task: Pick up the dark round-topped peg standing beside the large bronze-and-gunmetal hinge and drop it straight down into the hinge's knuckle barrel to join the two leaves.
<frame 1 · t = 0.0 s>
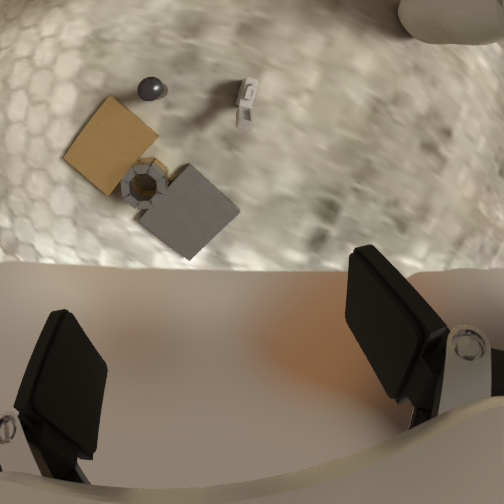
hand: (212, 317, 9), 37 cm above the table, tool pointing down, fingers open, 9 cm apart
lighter: (241, 102, 39), on the table
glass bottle: (409, 21, 33), on the table
dark round-topped peg: (159, 90, 36), on the table
hinge: (148, 178, 42), on the table
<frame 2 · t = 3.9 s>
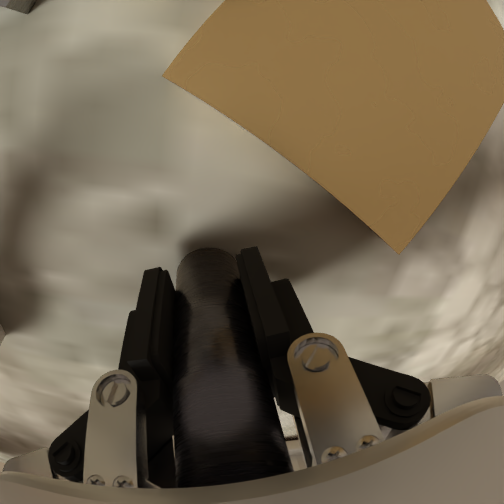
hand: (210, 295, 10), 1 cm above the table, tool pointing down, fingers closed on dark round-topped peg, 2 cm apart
dark round-topped peg: (208, 275, 11), on the table, touching gripper
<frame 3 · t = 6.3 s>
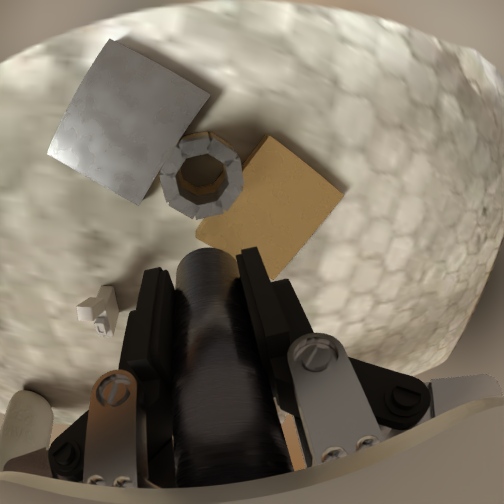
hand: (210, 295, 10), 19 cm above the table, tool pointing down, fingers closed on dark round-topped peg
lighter: (107, 289, 31), on the table
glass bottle: (35, 395, 40), on the table
dark round-topped peg: (208, 275, 11), point 18 cm above the table, touching gripper
hinge: (201, 166, 26), on the table
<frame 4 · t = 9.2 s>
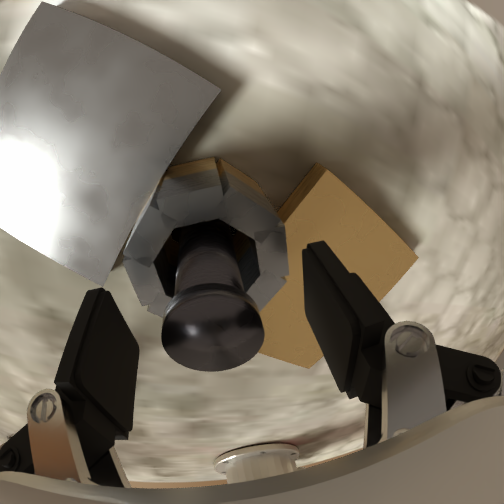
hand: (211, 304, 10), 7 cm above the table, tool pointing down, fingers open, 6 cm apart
dark round-topped peg: (204, 218, 16), resting in hinge
hinge: (204, 218, 16), on the table
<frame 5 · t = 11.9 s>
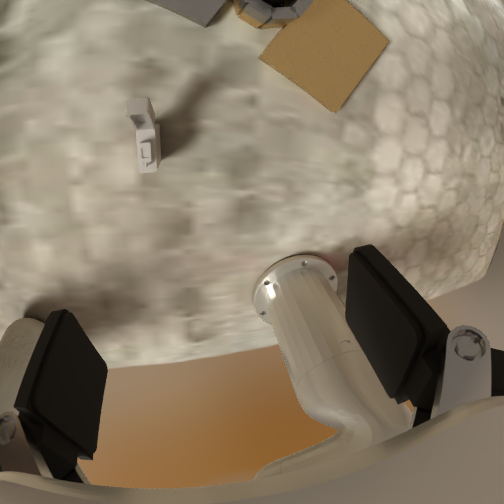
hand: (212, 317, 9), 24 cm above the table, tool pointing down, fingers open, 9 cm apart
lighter: (152, 129, 27), on the table
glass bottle: (38, 327, 37), on the table
dark round-topped peg: (265, 2, 21), resting in hinge
hinge: (264, 2, 21), on the table
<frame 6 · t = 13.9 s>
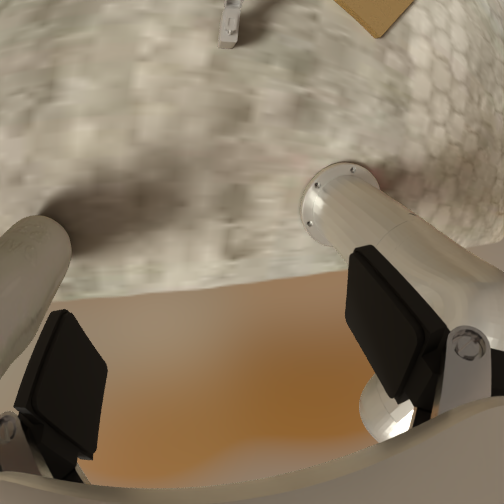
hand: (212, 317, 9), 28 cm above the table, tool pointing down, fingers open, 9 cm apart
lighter: (227, 22, 26), on the table
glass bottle: (50, 236, 34), on the table
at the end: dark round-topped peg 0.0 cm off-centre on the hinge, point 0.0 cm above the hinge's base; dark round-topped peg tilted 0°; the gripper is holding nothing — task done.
